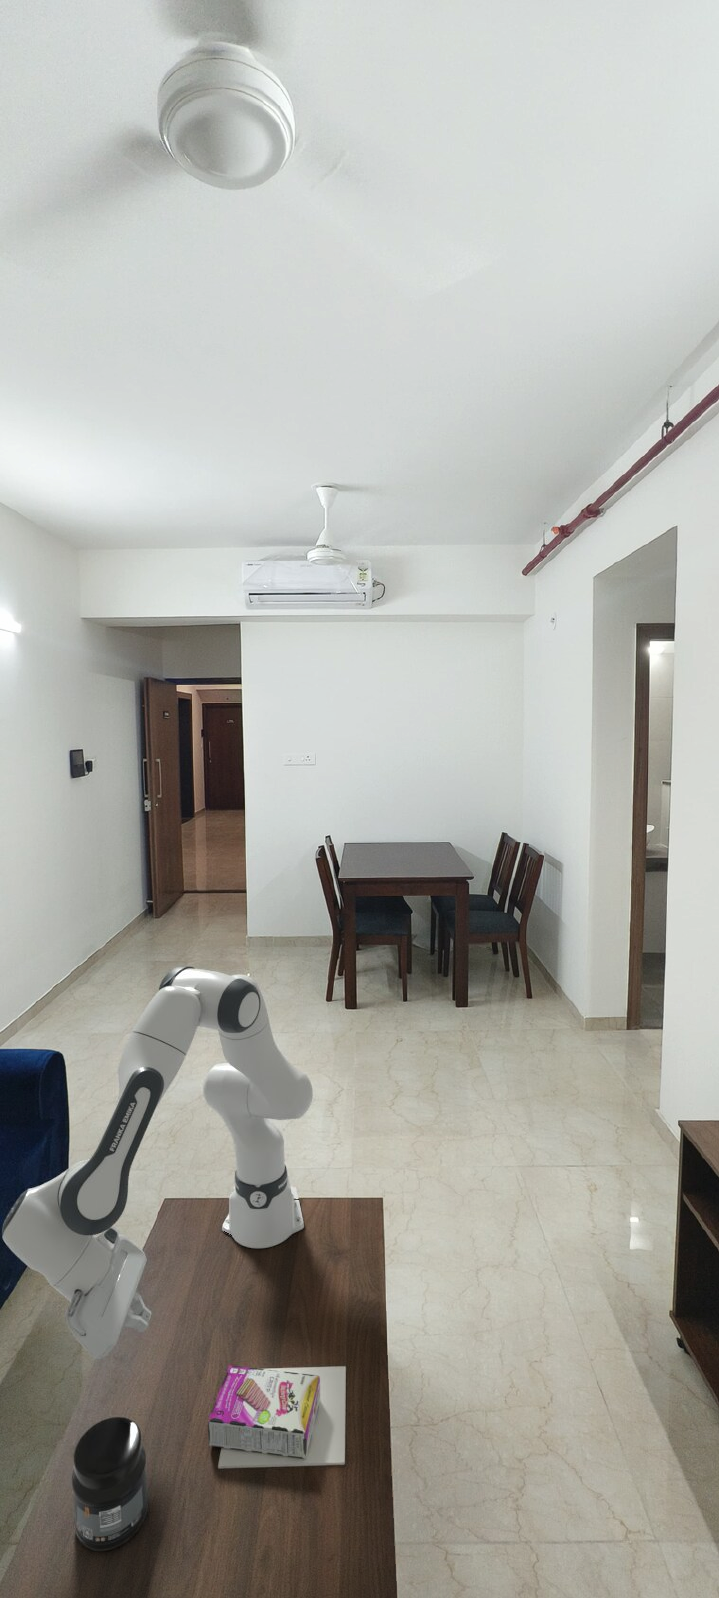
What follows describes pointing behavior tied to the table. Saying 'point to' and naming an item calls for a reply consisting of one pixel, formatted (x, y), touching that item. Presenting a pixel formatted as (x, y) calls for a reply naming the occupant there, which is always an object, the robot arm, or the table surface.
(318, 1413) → the mat
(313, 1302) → the table surface
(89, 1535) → the supplement container
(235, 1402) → the candy bar box
